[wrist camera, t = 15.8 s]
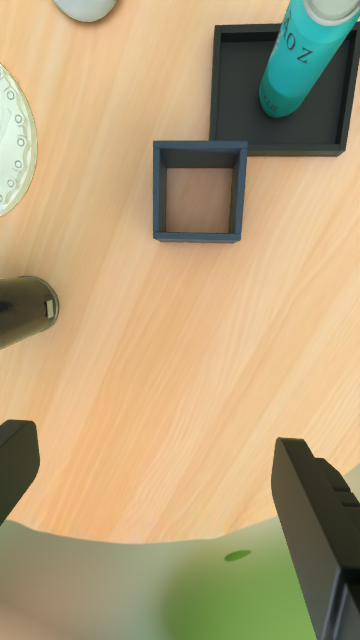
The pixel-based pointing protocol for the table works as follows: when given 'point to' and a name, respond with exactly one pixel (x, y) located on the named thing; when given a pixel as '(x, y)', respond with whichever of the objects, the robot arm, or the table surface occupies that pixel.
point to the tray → (245, 107)
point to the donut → (86, 8)
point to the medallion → (15, 143)
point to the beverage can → (304, 51)
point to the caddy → (199, 157)
